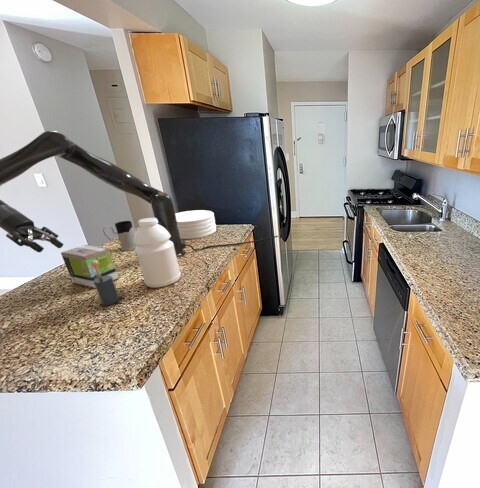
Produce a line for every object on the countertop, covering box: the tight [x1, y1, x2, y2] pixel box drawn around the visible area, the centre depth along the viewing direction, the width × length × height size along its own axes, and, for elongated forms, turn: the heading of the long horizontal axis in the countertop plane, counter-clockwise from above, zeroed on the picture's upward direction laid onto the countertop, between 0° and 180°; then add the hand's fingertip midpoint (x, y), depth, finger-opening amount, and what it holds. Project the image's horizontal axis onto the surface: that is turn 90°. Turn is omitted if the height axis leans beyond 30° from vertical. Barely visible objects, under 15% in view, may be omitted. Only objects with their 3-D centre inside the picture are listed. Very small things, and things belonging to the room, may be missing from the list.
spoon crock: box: [91, 260, 121, 307], centre depth 97 cm, size 5×5×18 cm
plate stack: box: [175, 209, 217, 240], centre depth 174 cm, size 28×28×12 cm
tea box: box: [60, 244, 119, 289], centre depth 112 cm, size 15×10×15 cm, turn 71°
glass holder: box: [102, 220, 138, 251], centre depth 146 cm, size 9×14×15 cm, turn 116°
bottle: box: [133, 217, 182, 289], centre depth 110 cm, size 14×14×28 cm
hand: (52, 248), depth 100 cm, fingers open, 8 cm apart
